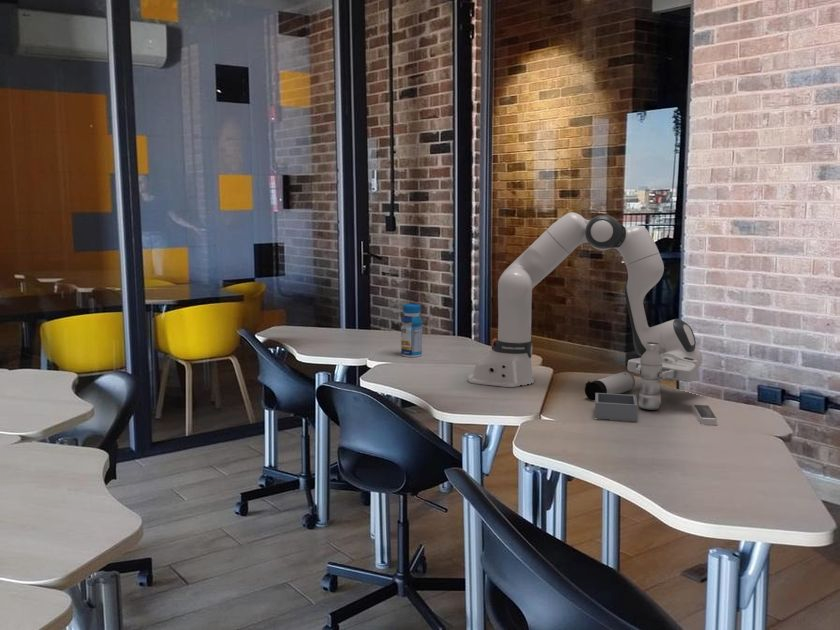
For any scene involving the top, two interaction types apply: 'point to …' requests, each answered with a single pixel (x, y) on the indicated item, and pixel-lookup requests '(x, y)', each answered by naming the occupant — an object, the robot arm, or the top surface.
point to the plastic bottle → (650, 377)
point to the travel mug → (610, 385)
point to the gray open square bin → (616, 406)
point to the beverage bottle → (411, 331)
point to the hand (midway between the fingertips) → (649, 373)
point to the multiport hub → (704, 415)
